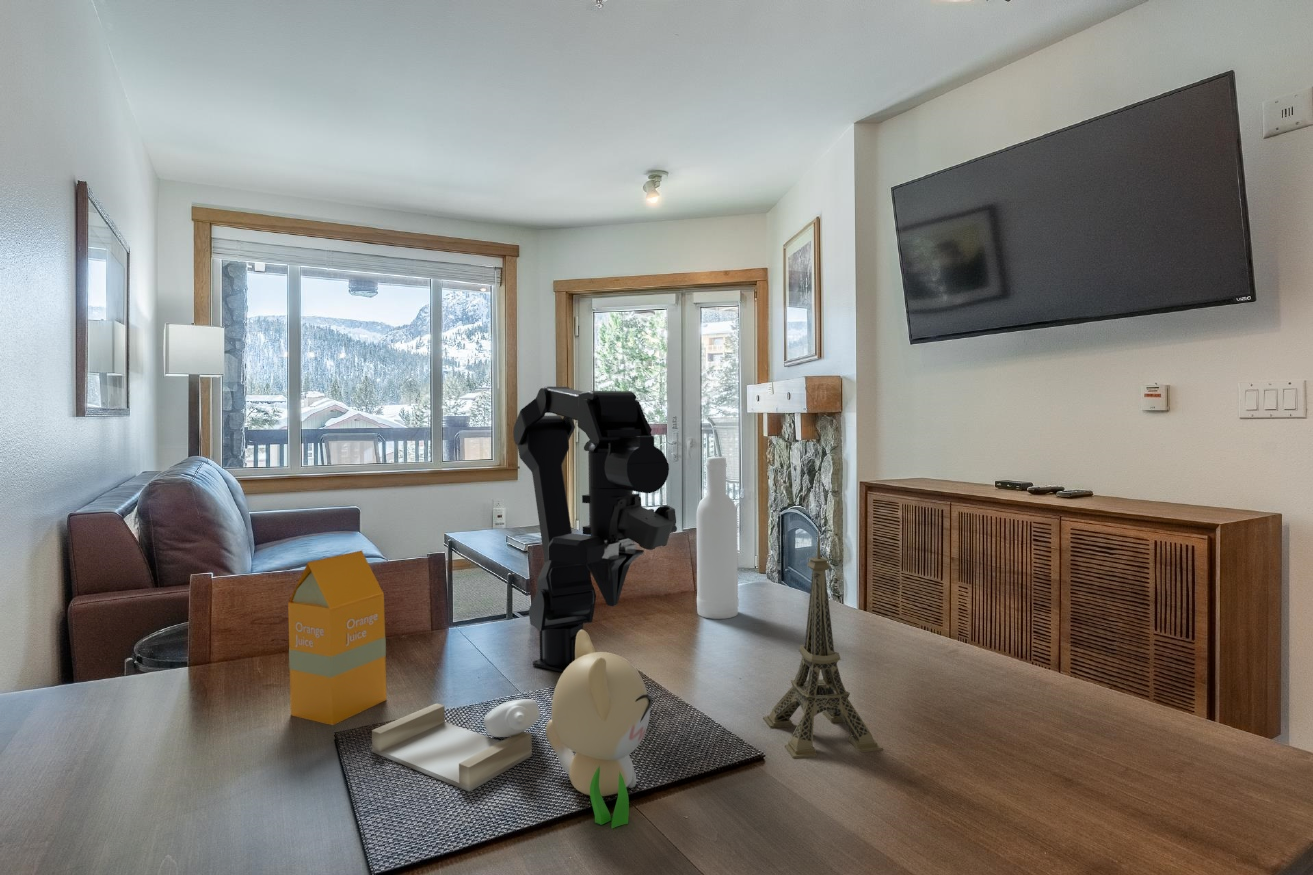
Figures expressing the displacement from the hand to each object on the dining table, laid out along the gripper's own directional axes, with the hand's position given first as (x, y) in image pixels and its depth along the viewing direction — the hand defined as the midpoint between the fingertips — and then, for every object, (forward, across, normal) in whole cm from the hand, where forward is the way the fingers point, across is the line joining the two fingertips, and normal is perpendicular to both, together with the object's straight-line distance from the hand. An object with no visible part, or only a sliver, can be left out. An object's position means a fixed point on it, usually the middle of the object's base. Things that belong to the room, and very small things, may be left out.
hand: (612, 605), depth 93 cm
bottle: (+13, +45, +9) cm, 48 cm away
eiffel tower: (+13, +6, -26) cm, 30 cm away
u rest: (+13, -21, +7) cm, 26 cm away
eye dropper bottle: (+11, -13, +6) cm, 18 cm away
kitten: (+13, -18, -12) cm, 25 cm away
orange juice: (+13, -20, +30) cm, 38 cm away
